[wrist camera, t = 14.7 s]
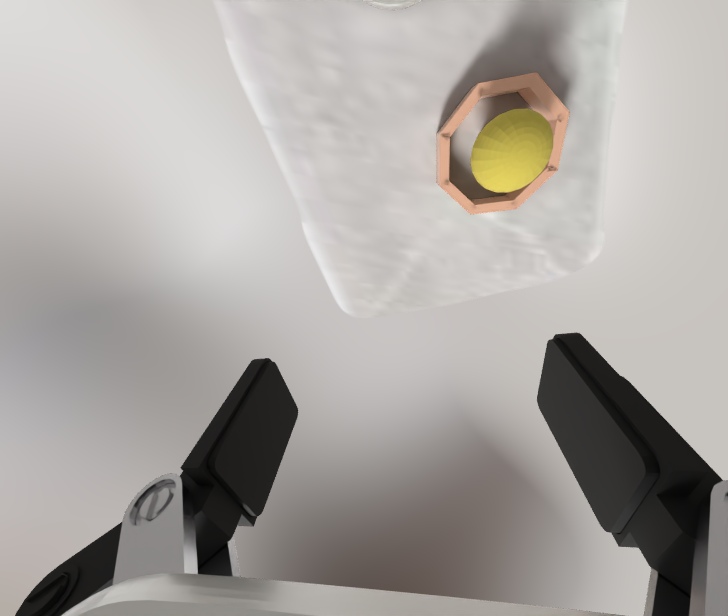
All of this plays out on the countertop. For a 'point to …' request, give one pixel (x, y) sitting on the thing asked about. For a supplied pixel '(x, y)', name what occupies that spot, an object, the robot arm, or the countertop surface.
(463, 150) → the countertop surface
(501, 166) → the light bulb
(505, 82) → the terracotta ring
